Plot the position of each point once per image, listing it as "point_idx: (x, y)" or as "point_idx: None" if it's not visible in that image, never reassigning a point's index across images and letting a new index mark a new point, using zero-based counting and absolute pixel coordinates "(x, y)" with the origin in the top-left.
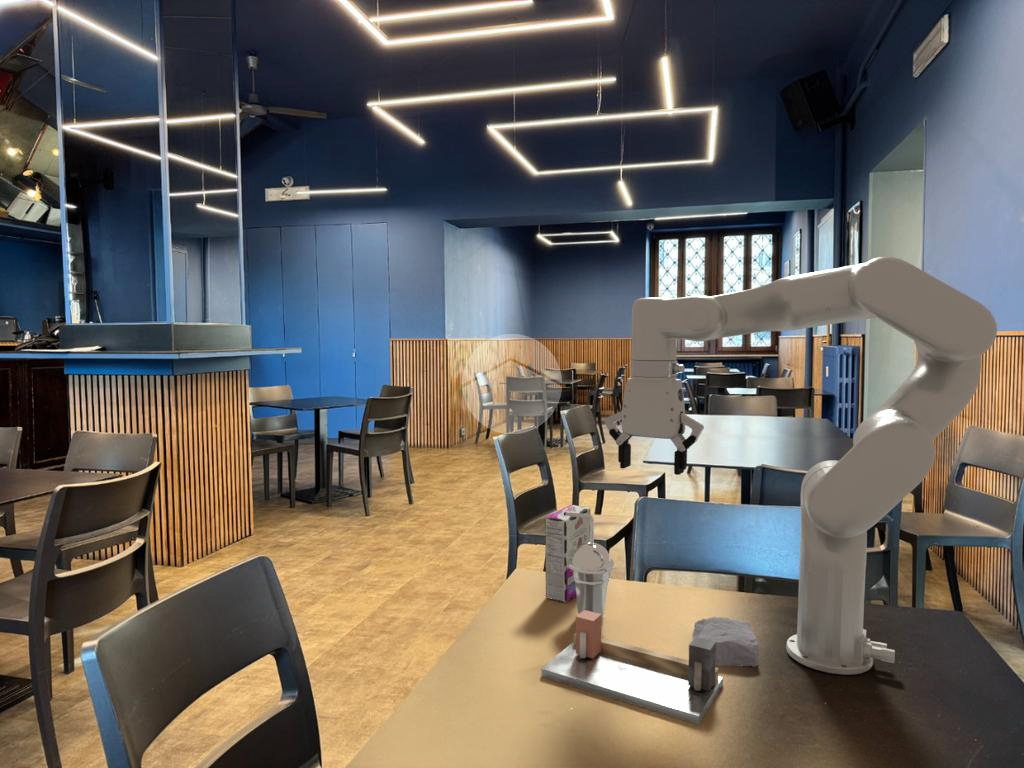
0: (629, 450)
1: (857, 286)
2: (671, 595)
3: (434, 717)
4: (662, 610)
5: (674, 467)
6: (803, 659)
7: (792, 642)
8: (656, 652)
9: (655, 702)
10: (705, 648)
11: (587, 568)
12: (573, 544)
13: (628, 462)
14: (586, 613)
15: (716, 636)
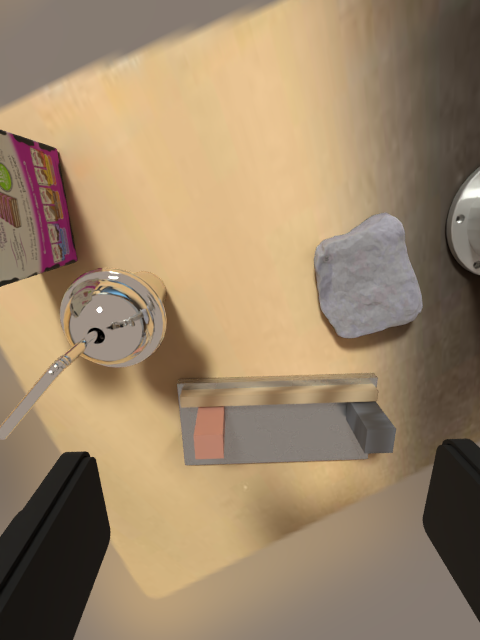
0: (38, 589)
1: None
2: (217, 99)
3: (149, 552)
4: (231, 190)
5: (447, 564)
6: (474, 272)
7: (460, 224)
8: (297, 394)
9: (321, 459)
10: (386, 452)
11: (129, 361)
12: (3, 243)
13: (89, 504)
14: (202, 443)
15: (361, 309)
